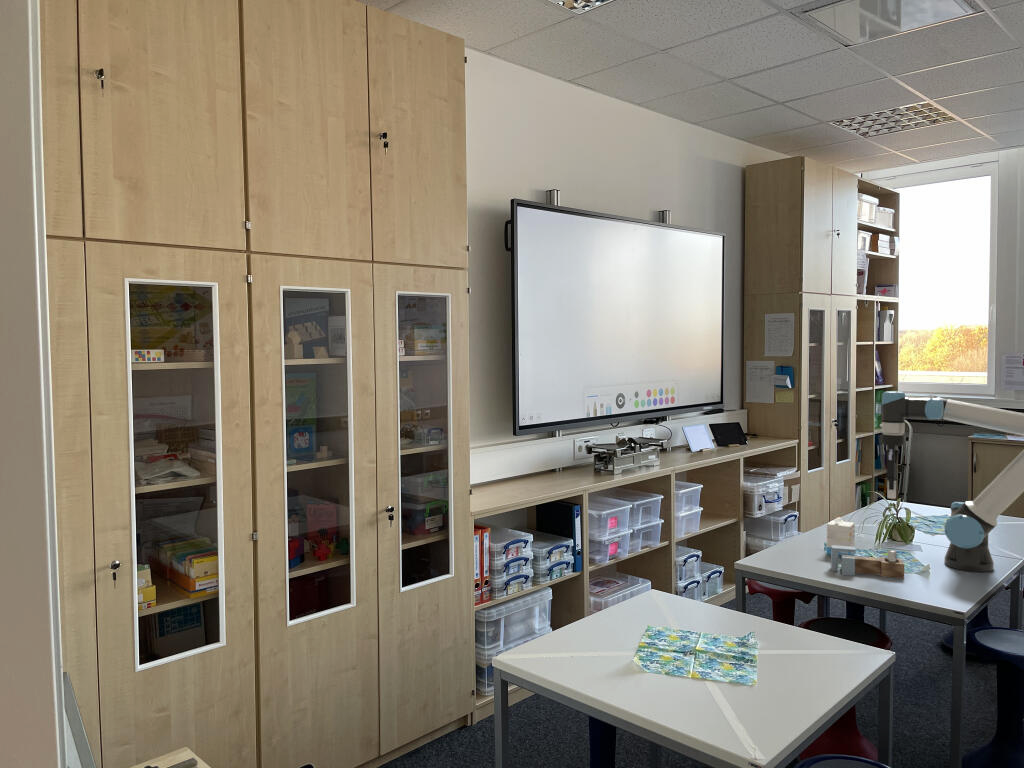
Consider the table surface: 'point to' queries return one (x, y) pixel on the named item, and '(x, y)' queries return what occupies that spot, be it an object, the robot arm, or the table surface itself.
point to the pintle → (892, 556)
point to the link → (878, 566)
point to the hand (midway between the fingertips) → (891, 498)
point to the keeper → (843, 560)
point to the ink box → (840, 535)
